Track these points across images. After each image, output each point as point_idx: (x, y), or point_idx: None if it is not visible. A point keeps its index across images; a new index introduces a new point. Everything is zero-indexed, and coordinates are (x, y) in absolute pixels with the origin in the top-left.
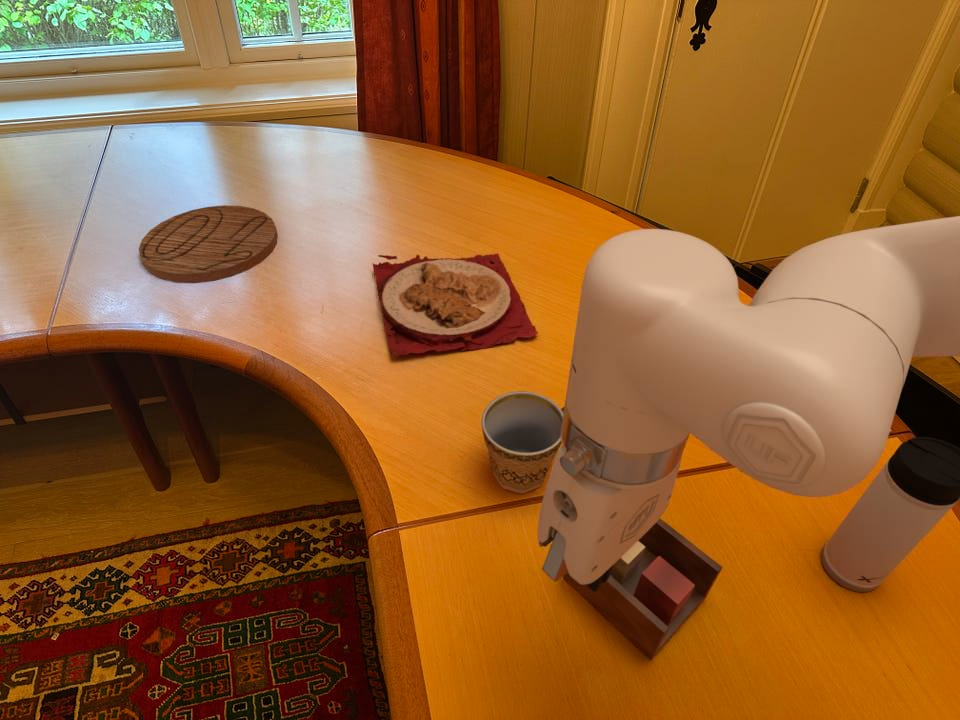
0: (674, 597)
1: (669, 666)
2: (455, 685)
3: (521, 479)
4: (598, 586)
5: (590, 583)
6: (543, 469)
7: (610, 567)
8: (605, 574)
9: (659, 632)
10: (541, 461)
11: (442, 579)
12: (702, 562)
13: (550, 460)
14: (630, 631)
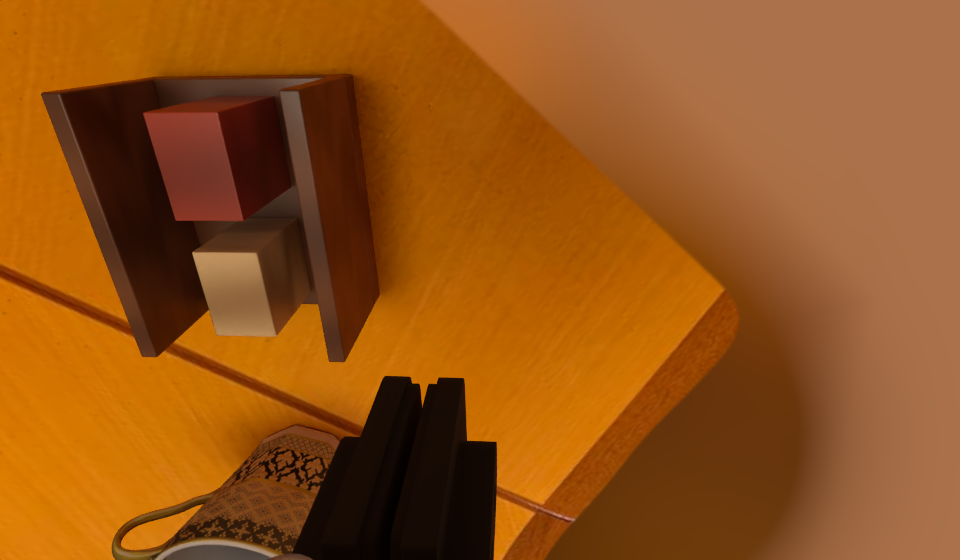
0: (212, 130)
1: (327, 38)
2: (663, 290)
3: (321, 477)
4: (448, 397)
5: (461, 418)
6: (272, 474)
7: (369, 461)
8: (397, 426)
9: (307, 100)
10: (266, 512)
11: (547, 416)
12: (86, 137)
13: (247, 494)
14: (349, 144)
